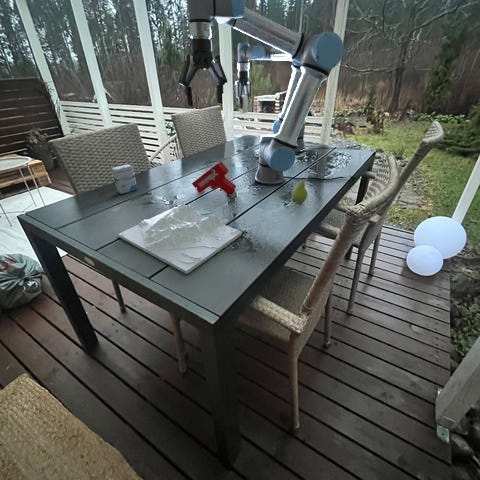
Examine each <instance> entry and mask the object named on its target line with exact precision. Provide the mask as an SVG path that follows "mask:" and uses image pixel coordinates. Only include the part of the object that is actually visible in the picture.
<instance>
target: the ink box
mask: <svg viewBox="0 0 480 480" xmlns="http://www.w3.org/2000/svg"><path fill="white" fill-rule="evenodd" d="M110 170H111V173H112V176H113V181H114V184H115V188H116V191H117V192H118V193H119V194H121V195H122V194H126V193H130V192H132V191H133V192H134V191H136V190H138V185H137V181H136V177H135V171H134V167H133V165H130V164H124V165H120V166H119V165H118V166H115V167H111V168H110Z"/></svg>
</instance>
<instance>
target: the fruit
mask: <svg viewBox="0 0 480 480" xmlns="http://www.w3.org/2000/svg"><path fill="white" fill-rule="evenodd" d="M309 177H311V175H310V174H309V175H308V176H307V177H305V178H306V179H301V181H300V182H298V184H297V185H296V186H295V187H294V188H293V190H292V191H291V198H292V200H293V201H294V202H295V203H297V204H301V203H304V202H305V201H306V200H307V198H308V196H309V195H308V190H307V189H306V184H305V183H306V180H308V179H307V178H309Z"/></svg>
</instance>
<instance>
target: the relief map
mask: <svg viewBox="0 0 480 480" xmlns="http://www.w3.org/2000/svg"><path fill="white" fill-rule="evenodd" d="M242 235H243V231H242V230H239V229H238V228H234V227H231V226H229V225H226V224H224V223H223V222H222V221H221V220H220V219H219V218H218V216H216V215H214V214H212V215H210V216H207V217H205V216H204V215H203V214H199V213H198V212H197V211H196V209H195V208H194V207H193V206H192V205H191V204H187V205H186V204H185V202H182V204H180V205H179V206H174V207H171V208H170V209H168V210H165V211H163V212H161V213H159V214H157V215H154V216H153V217H150V218H149V219H143V220H141V221H140V222H139V223H138V224H137V225H134V226H132V227H129V228H128V229H126V230H123V231H122V232H120V233H117V236H118V238H120V239H121V240H123V241H125V242H127V243H129V244H131V245H132V246H134V247H136V248H138V249H140V250H141V251H143V252H145V253H147V254H149V255H151V256H153V257H154V258H156V259H158V260H160V261H162V262H163V263H165V264H166V265H169V266H171V267H173V268H175V269H176V270H178V271H180V272H182V273H183V274H185V275H188V274H190V273H191V272H192V271H193V270H195V269H196V268H198V267H199V266H201V265H202V264H203V263H205V262H206V261H208V260H209V259H211V258H212V257H214V256H215V255H216V254H217V253H219V252H220V251H222V250H223V249H224V248H226V247H227V246H229V245H230V244H231V243H233V242H235V241H236V240H237V239H238V238H240V237H241V236H242Z"/></svg>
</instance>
